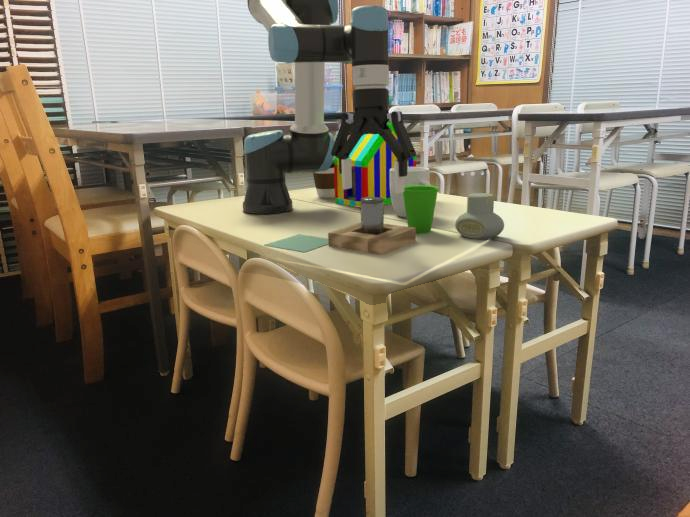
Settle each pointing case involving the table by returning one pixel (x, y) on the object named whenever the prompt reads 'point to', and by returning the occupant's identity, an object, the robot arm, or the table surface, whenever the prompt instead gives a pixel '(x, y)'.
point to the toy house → (368, 171)
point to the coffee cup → (325, 182)
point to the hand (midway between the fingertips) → (372, 190)
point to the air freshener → (480, 218)
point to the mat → (299, 243)
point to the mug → (413, 178)
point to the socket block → (372, 238)
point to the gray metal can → (372, 215)
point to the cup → (420, 206)
